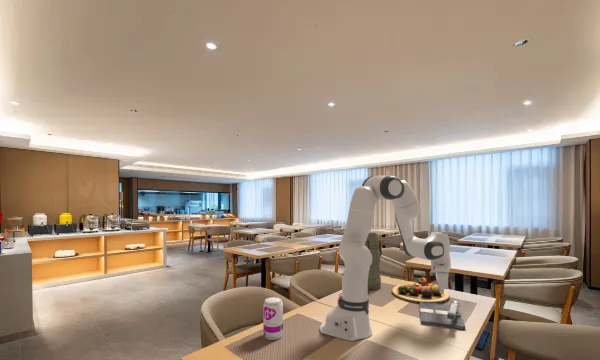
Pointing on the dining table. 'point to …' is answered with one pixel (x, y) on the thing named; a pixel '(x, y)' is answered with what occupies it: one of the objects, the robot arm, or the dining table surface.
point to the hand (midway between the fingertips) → (441, 293)
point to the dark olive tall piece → (374, 261)
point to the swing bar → (453, 309)
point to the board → (440, 316)
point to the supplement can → (273, 318)
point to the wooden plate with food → (420, 292)
